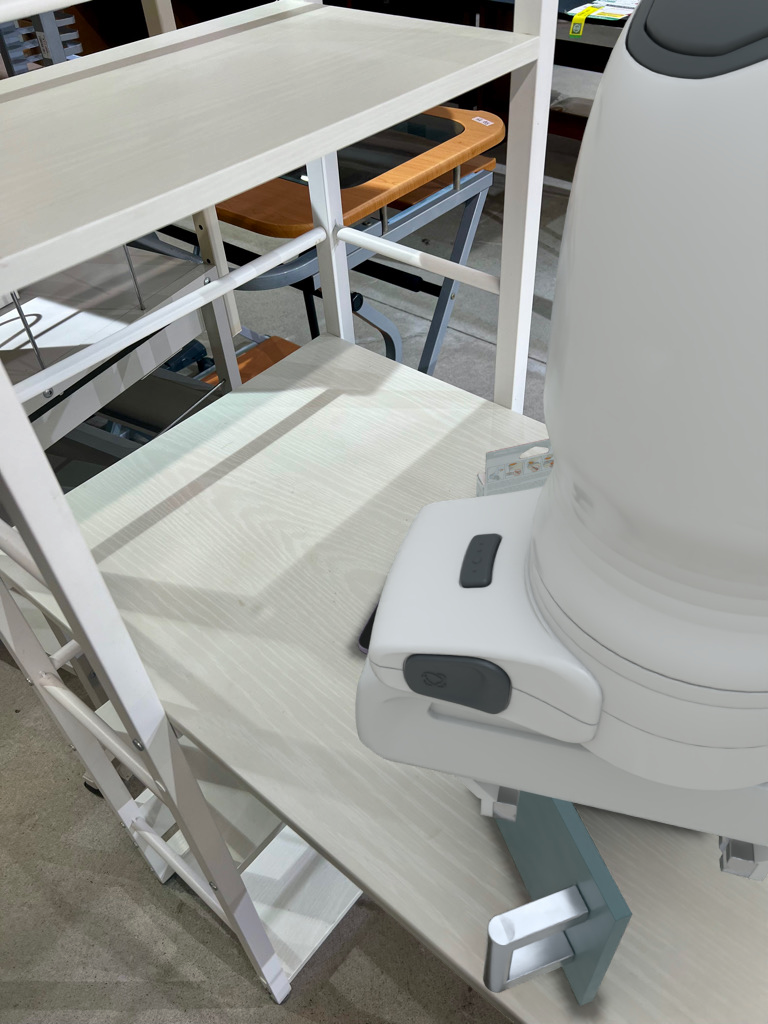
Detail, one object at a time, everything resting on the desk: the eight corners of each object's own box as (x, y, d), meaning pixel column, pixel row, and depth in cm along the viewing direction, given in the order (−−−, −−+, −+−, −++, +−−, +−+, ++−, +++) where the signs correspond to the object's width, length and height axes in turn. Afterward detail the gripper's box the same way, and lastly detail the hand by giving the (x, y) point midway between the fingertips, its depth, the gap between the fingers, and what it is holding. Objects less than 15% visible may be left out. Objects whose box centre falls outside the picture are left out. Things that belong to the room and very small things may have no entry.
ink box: (474, 507, 84) (476, 439, 78) (565, 486, 86) (575, 417, 79) (481, 521, 83) (484, 453, 76) (575, 499, 84) (585, 430, 78)
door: (498, 1041, 48) (511, 963, 37) (412, 811, 59) (404, 701, 48) (593, 1000, 49) (632, 914, 38) (491, 783, 60) (500, 670, 50)
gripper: (1074, 594, 21) (884, 816, 30) (376, 498, 26) (399, 713, 35) (1177, 808, 17) (918, 989, 26) (314, 642, 22) (360, 843, 31)
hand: (615, 829), depth 31 cm, fingers open, 8 cm apart
